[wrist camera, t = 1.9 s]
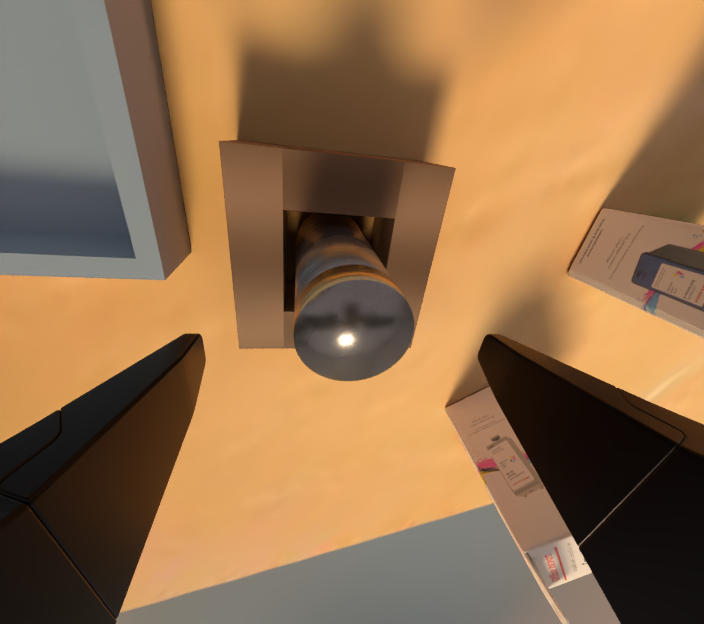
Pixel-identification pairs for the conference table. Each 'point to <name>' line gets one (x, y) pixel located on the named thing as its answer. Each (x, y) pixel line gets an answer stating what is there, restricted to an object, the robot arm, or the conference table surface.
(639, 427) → the robot arm
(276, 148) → the socket block
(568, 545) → the ink cartridge box
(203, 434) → the conference table surface
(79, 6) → the tray
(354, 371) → the steel pin
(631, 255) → the ink box
